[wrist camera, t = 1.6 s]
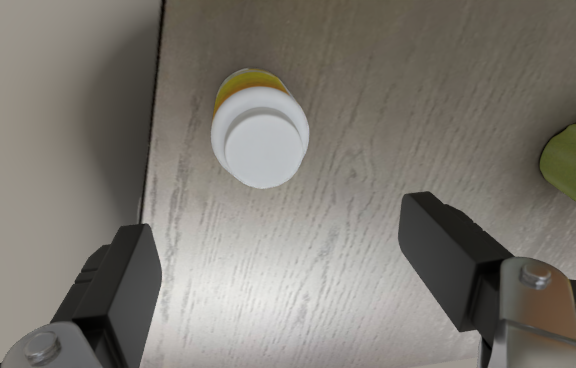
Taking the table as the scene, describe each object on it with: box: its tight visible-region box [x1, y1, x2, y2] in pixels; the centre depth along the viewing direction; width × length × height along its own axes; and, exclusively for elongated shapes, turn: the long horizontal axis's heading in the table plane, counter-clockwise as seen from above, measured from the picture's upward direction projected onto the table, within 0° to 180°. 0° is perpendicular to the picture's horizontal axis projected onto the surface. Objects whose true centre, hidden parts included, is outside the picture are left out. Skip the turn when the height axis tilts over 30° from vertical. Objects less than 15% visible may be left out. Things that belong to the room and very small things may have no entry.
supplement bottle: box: [211, 68, 309, 189], centre depth 22 cm, size 6×6×10 cm
